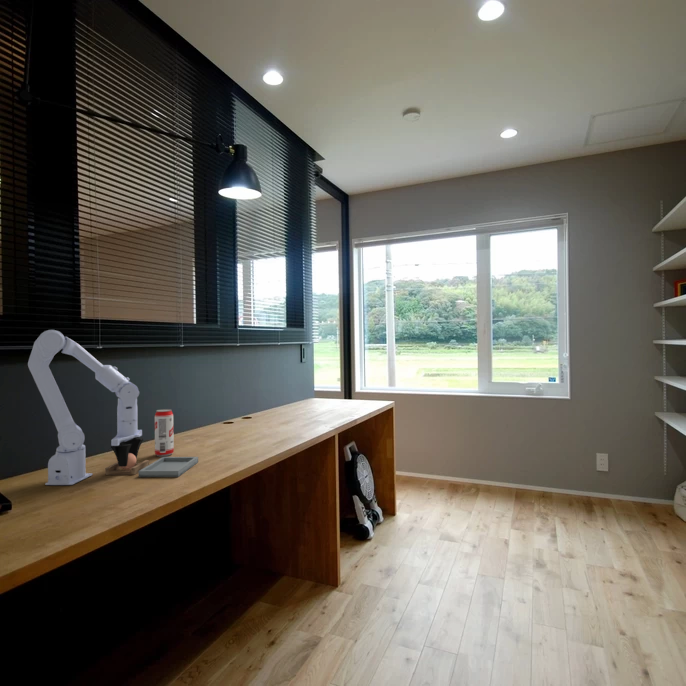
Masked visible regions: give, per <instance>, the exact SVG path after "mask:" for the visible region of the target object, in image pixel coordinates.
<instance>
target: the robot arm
mask: <svg viewBox="0 0 686 686" xmlns="http://www.w3.org/2000/svg"><path fill="white" fill-rule="evenodd" d="M60 351H61V353H62V354H65V355H69V356H72V357H73V358H75V359H77V360H78V361H79V362H80V363H81V364H83V365H85V366H86V367H87V368H88V369H90V370H91V371H92V372H94V375H95V377H94V378H95V380H96V381H98V383H100V384H101V385H102V386H104V387H105V388H106V389H108V390H109V391H110V392H111V393H115V396H116V397H117V407H116V413H117V414H116V416H117V417H116V419H117V420H116V421H117V422H116V426H117V427H116V428H117V429H116V430H117V433H116V435H115V436H114V437H113V438H112V439H111V444H110V448H111V450H112V451H113V453H114V455H115V458H116V460H117V461H116V462H118V464H119V466H127V462H128V454H129V453H132V454H134V455H135V457H136V460H137V459H138V458H137V457H138V455H139V451H140V447H141V445H142V443H143V442H144V437H142V436H143V429H138V428H139V427H138V417H139V416H138V397H139V395H140V391H139V390H140V389H139V388H138V385H136V384H134V383H133V382H131V381H130V379H131V378H129V377H128V376H127V377H126V376H124V375H123V374H122V373H121V372H119V371H118V367H116V366H115V365H114V366H113V365H111V364H103V363H101V362H100V361H99V360H97V358H95V357H94V356H93V355H92V354H91V353H90V352H88V351H87V350H86V349H85V348H84V347H83V346H81V345H80V344H79V343H77V342H76V341H74V340H73V339H71V338H69V337H68V336H64V334H63V333H62V332H61V331H59V330H55V329H48V330H44V331H43V332H41V333H40V335H39V336H38V337H37V339H35V341H34V342H33V345H32V350H31V352H30V355H29V358H28V362H27V366H28V369H29V372H30V373H31V375H32V378H33V380H34V383H35V384H36V387H37V389H38V391H39V393H40V395H41V397H42V399H43V402H44V404H45V406H46V408H47V411H48V412H49V414H50V417H51V418H52V421H53V424H54V425H55V428H56V430H57V439H58V444H59V445H58V446H57V447H56V451H55V454H54V455H52V456H50V458H49V459H48V463H47V481H46V482H45V483H44V484H45V485H46V486H73V485H76V484H77V483H79V482H81V481H83V480H85V479H87V478H89V477H91V476H93V473H92V472H91V473H88V472H86V467H87V466H86V465H87V464H86V445H85V444H84V442H85V438H86V437H85V433H84V432H83V430H82V428H81V427H80V426H79V425H77V423H76V422H75V420H74V419H73V417H72V414H71V412H70V410H69V408H68V406H67V404H66V402H65V399H64V396H63V394H62V393H61V390H60V388H59V386H58V384H57V382H56V380H55V378H54V377H55V376H54V375H53V373H52V370H51V369H50V364H51V362H52V360H53V359H54V356H55V355H56V354H57V353H59V352H60Z"/></svg>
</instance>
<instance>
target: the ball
mask: <svg viewBox="0 0 686 686" xmlns="http://www.w3.org/2000/svg"><path fill="white" fill-rule="evenodd" d="M136 463H137V459H136V457H135V455H134V454H132V453H129V454H128V462H127V466H120V467H121V469H122V470H131V468H132V467H134V466H135V464H136Z"/></svg>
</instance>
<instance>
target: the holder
mask: <svg viewBox="0 0 686 686" xmlns="http://www.w3.org/2000/svg"><path fill="white" fill-rule="evenodd" d="M148 465H150V460H148V459H145V460H143V461H142V462H138V463H137V462H136V464H135V466H134V467H132V468H131V469H127V470H126V469H122V468H121V467H120V466H119V464H118V461H116V462H115V463H113V464H111V465H109V466H107V467H105V468H104V469H105V472H104V473H105V475H106V476H109V475H110V476H112V475H116V476H117V475H118V476H119V475H120V476H123V475H125V476H126V475H127V476H128V475H129V476H131V475H132V476H134V475H136V474H139V471H140V470H141V469H143V468H145V467H146V466H148ZM121 469H122V470H121Z"/></svg>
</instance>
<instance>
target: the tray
mask: <svg viewBox="0 0 686 686" xmlns="http://www.w3.org/2000/svg"><path fill="white" fill-rule="evenodd" d="M198 463H199V456H163V457H160V458H159V459H157V460H155V461H154V462H152V463H149V465H148V466H146V467H145V468H143V469H141V470H140V471H139V472H138V478H179V477H181V476H182V475H183V474H184V473H186V472H188V470H190V469H191V468H192V467H194V466H195V465H196V464H198Z"/></svg>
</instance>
